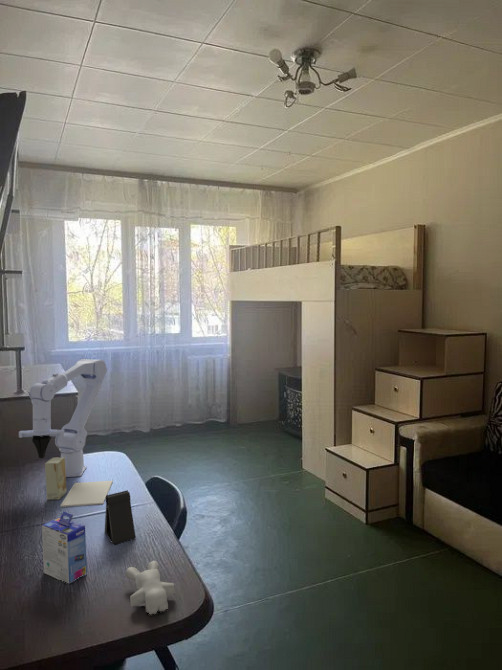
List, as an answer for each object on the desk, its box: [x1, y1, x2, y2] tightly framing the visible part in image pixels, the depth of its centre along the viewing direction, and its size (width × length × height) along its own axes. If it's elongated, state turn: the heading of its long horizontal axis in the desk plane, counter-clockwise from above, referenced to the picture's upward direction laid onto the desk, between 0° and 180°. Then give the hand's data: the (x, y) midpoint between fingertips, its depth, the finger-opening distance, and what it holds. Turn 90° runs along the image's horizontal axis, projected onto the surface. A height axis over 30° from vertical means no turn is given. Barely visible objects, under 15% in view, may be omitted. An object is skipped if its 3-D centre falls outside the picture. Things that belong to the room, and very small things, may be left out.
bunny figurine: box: [124, 560, 176, 615], centre depth 108 cm, size 10×5×15 cm
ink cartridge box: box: [41, 511, 88, 584], centre depth 117 cm, size 10×6×14 cm, turn 58°
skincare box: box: [44, 456, 68, 500], centre depth 162 cm, size 6×4×12 cm
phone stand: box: [104, 489, 137, 546], centre depth 135 cm, size 9×6×12 cm, turn 31°
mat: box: [60, 480, 114, 508], centre depth 163 cm, size 18×13×1 cm
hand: (41, 457), depth 169 cm, fingers closed
